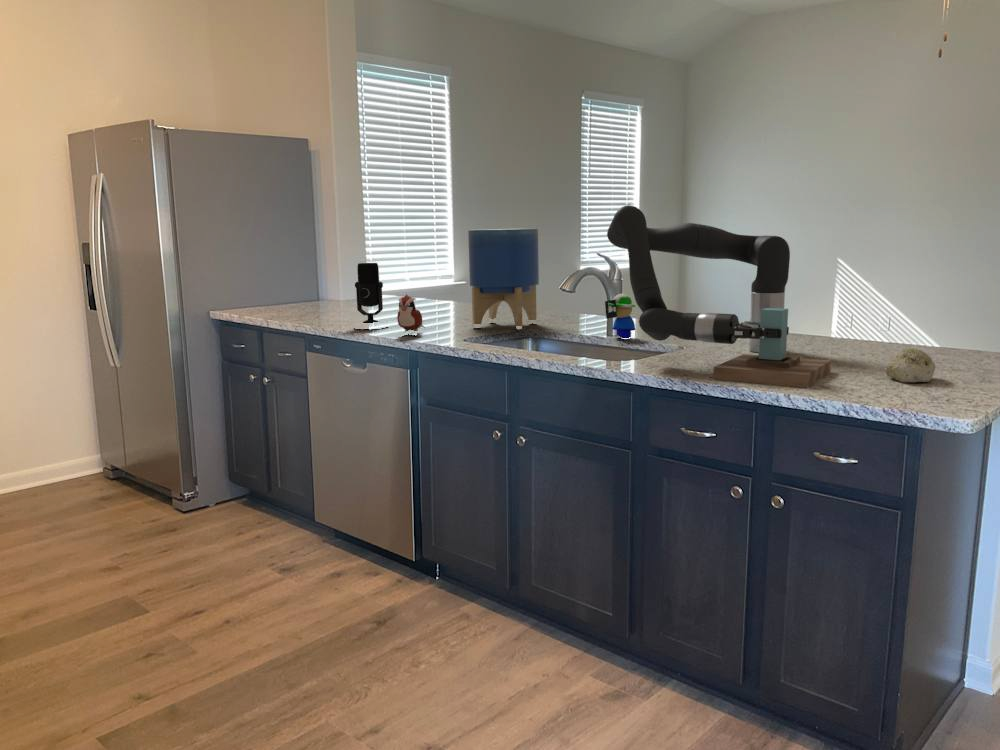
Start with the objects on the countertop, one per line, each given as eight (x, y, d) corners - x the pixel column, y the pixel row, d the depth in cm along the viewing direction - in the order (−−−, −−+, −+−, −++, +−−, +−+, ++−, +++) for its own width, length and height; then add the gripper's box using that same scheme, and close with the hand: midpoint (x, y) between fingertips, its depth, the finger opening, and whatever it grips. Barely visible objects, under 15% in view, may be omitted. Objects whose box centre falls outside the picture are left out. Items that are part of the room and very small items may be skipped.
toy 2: (603, 338, 270) (603, 293, 268) (627, 336, 273) (627, 292, 271) (616, 341, 262) (616, 295, 259) (640, 339, 265) (641, 294, 263)
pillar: (765, 355, 201) (767, 307, 199) (785, 357, 198) (788, 308, 196) (758, 358, 197) (761, 309, 195) (779, 360, 194) (782, 310, 192)
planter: (460, 325, 315) (457, 230, 308) (520, 321, 326) (518, 228, 319) (488, 332, 292) (485, 229, 285) (551, 327, 302) (550, 228, 296)
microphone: (347, 329, 310) (343, 264, 305) (363, 325, 322) (359, 262, 318) (379, 330, 306) (376, 263, 301) (394, 326, 318) (391, 262, 314)
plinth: (742, 365, 213) (743, 349, 213) (830, 372, 201) (831, 355, 200) (713, 379, 196) (713, 362, 195) (807, 387, 183) (808, 369, 183)
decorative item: (885, 357, 198) (928, 342, 192) (898, 390, 196) (942, 377, 191) (875, 358, 188) (920, 342, 182) (890, 393, 186) (936, 379, 181)
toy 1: (392, 338, 282) (390, 295, 279) (408, 332, 298) (406, 291, 295) (415, 338, 280) (414, 295, 277) (430, 332, 296) (429, 291, 293)
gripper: (706, 316, 198) (777, 319, 188) (726, 310, 210) (794, 314, 200) (705, 346, 199) (775, 351, 190) (725, 339, 211) (792, 344, 201)
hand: (784, 332), depth 195 cm, fingers closed on pillar, 5 cm apart
